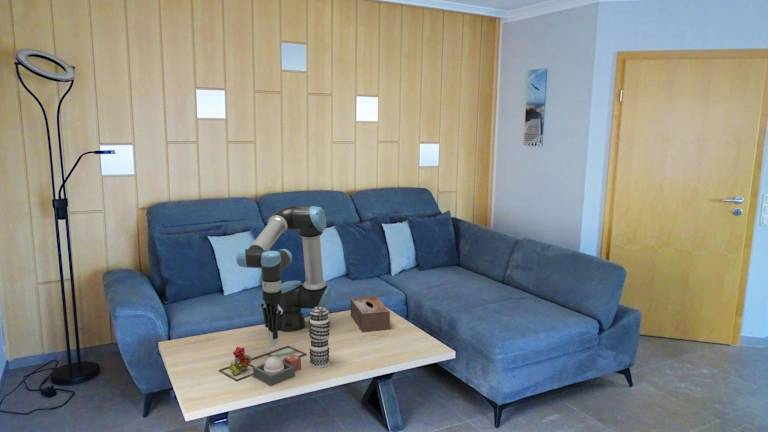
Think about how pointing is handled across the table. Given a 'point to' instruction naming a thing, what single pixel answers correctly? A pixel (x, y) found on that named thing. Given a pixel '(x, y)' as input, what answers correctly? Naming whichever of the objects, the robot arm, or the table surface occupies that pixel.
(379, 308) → the tissue box cover
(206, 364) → the table surface
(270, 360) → the dome
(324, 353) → the decorative candle
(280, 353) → the frame
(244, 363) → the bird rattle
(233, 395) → the table surface
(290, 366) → the dome housing
